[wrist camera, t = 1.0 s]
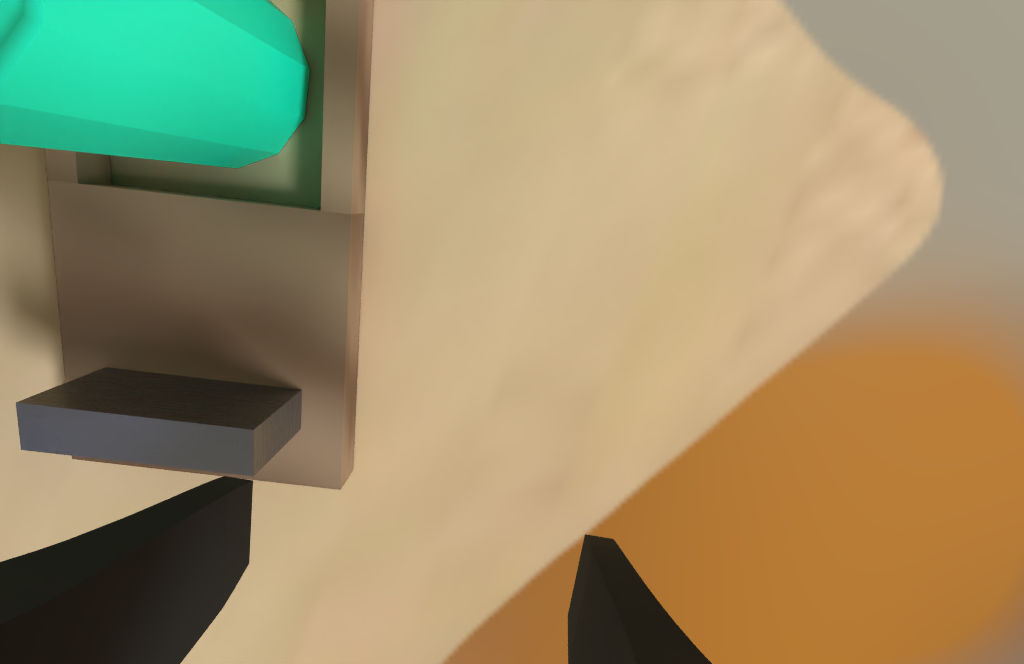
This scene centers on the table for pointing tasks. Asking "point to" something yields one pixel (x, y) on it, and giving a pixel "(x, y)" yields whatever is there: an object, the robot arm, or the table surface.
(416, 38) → the table surface
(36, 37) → the candle
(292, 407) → the brown compartment tray
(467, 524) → the table surface
